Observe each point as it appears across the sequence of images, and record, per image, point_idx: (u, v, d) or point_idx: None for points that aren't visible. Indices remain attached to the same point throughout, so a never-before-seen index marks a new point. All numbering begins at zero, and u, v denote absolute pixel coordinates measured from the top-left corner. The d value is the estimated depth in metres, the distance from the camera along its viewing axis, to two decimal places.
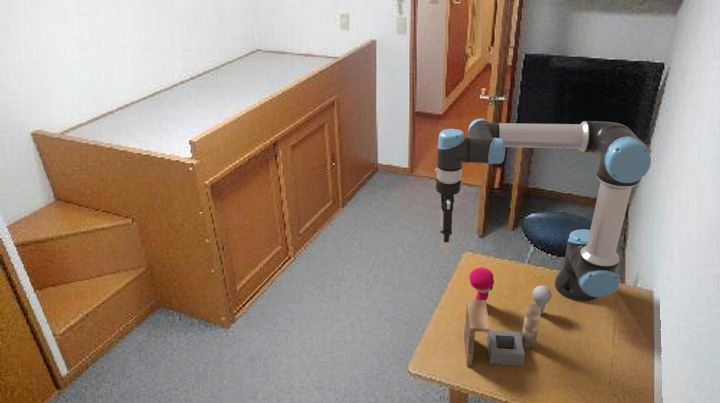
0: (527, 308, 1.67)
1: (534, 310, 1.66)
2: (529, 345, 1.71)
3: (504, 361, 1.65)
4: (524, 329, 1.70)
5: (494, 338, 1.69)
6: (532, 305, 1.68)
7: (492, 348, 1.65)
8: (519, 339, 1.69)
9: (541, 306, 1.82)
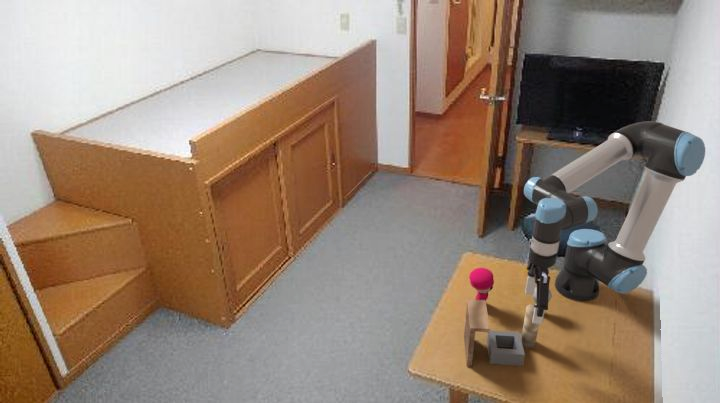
0: (527, 308, 1.67)
1: None
2: (529, 345, 1.71)
3: (504, 361, 1.65)
4: (524, 329, 1.70)
5: (494, 338, 1.69)
6: (532, 305, 1.68)
7: (492, 348, 1.65)
8: (519, 339, 1.69)
9: None
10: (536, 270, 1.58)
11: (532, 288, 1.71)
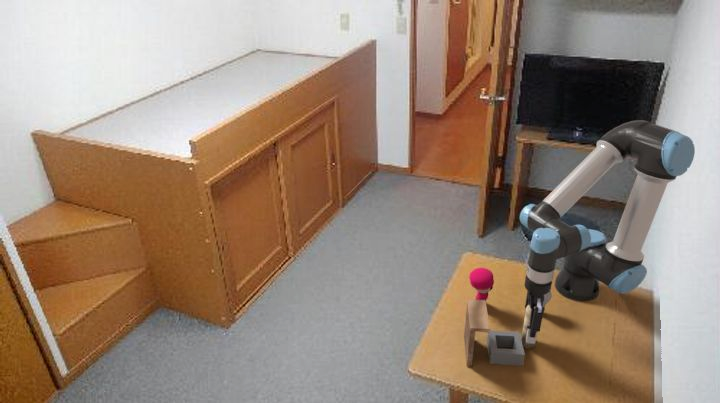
0: (527, 308, 1.67)
1: None
2: (529, 345, 1.71)
3: (504, 361, 1.65)
4: (524, 329, 1.70)
5: (494, 338, 1.69)
6: None
7: (492, 348, 1.65)
8: (519, 339, 1.69)
9: None
10: (532, 298, 1.63)
11: None
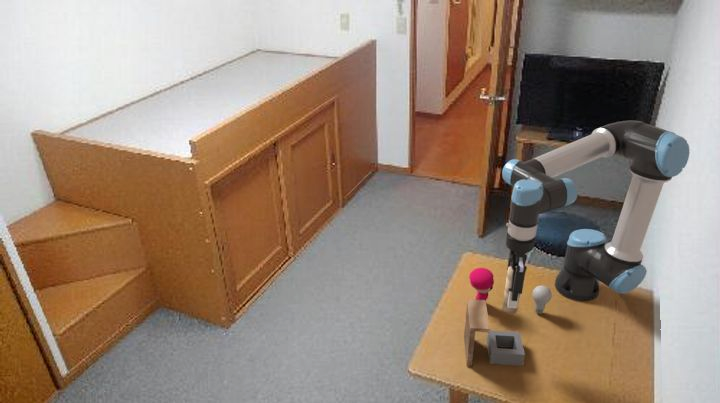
0: (509, 269, 1.55)
1: None
2: (511, 310, 1.59)
3: (504, 361, 1.65)
4: (505, 293, 1.58)
5: (494, 338, 1.69)
6: None
7: (492, 348, 1.65)
8: (519, 339, 1.69)
9: (541, 306, 1.82)
10: (513, 257, 1.50)
11: None
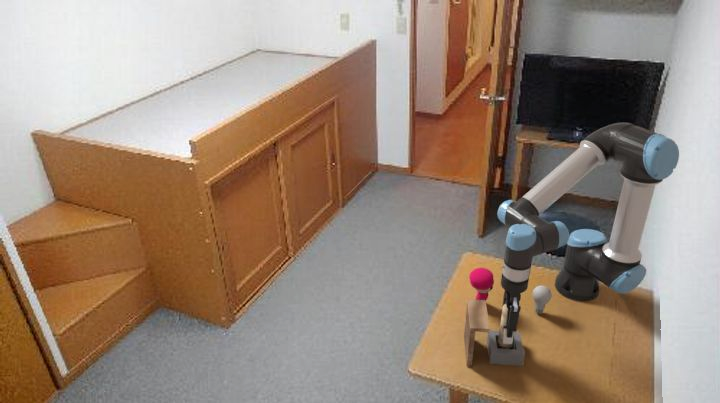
0: (503, 307, 1.62)
1: None
2: (506, 345, 1.66)
3: (504, 361, 1.65)
4: (501, 329, 1.64)
5: (494, 338, 1.69)
6: None
7: (492, 348, 1.65)
8: (519, 339, 1.69)
9: (541, 306, 1.82)
10: (508, 296, 1.57)
11: None
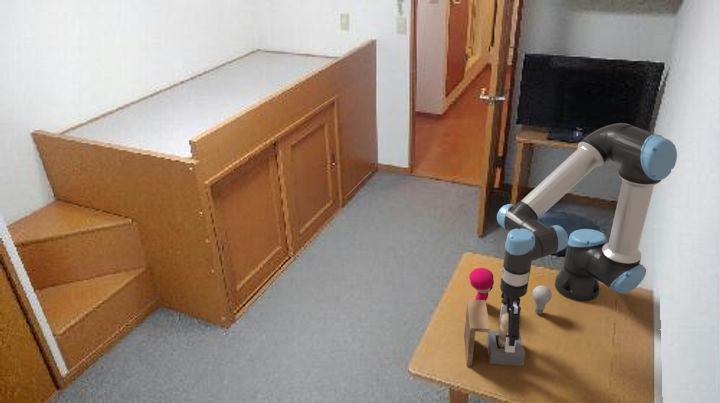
0: (502, 317, 1.64)
1: None
2: None
3: (504, 361, 1.65)
4: (500, 339, 1.66)
5: (494, 338, 1.69)
6: None
7: (492, 348, 1.65)
8: (519, 339, 1.69)
9: (541, 306, 1.82)
10: (508, 300, 1.58)
11: None
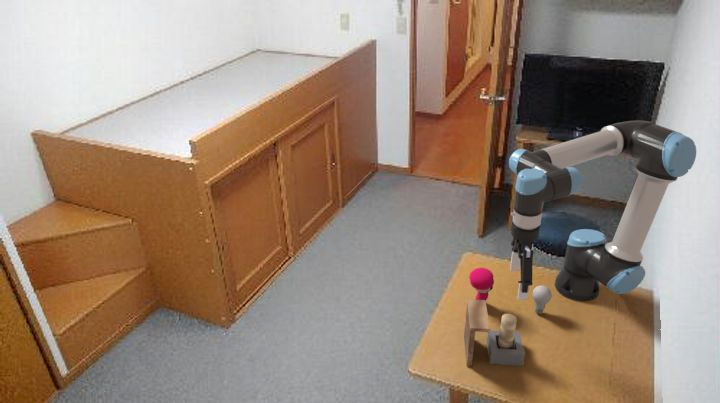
0: (502, 318, 1.63)
1: (509, 319, 1.63)
2: None
3: (504, 361, 1.65)
4: (500, 339, 1.66)
5: (494, 338, 1.69)
6: (508, 315, 1.65)
7: (492, 348, 1.65)
8: (519, 339, 1.69)
9: (541, 306, 1.82)
10: (519, 245, 1.52)
11: (517, 264, 1.65)
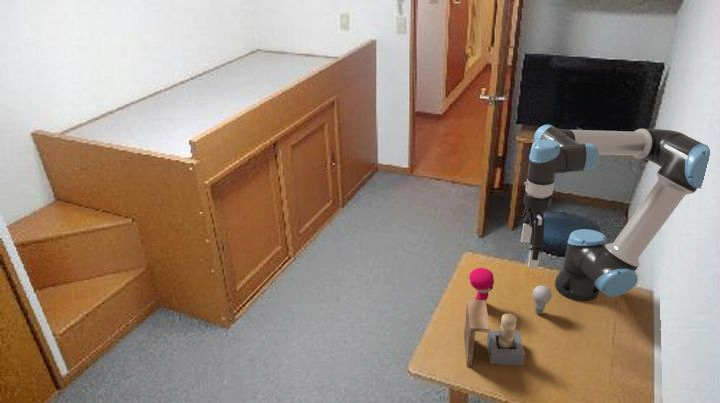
0: (502, 318, 1.63)
1: (509, 319, 1.63)
2: None
3: (504, 361, 1.65)
4: (500, 339, 1.66)
5: (494, 338, 1.69)
6: (508, 315, 1.65)
7: (492, 348, 1.65)
8: (519, 339, 1.69)
9: (541, 306, 1.82)
10: (531, 214, 1.58)
11: (528, 235, 1.71)
